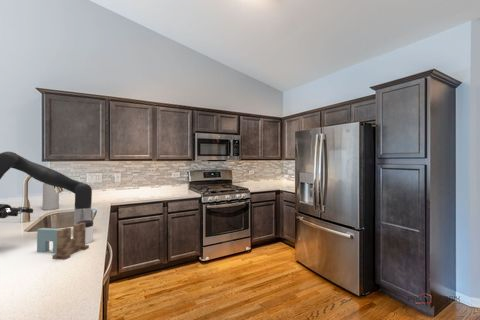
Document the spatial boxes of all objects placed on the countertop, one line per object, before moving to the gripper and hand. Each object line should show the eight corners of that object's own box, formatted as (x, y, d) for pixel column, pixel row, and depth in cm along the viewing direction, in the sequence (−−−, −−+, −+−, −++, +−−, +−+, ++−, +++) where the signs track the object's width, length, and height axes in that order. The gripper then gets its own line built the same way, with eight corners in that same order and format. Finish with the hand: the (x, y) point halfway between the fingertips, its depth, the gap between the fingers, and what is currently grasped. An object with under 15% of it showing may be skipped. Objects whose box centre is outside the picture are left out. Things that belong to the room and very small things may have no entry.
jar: (96, 239, 149) (96, 220, 149) (88, 244, 141) (88, 223, 141) (82, 239, 149) (82, 219, 149) (72, 243, 141) (73, 223, 141)
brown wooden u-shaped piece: (77, 247, 136) (77, 222, 136) (88, 247, 135) (89, 222, 135) (52, 258, 120) (52, 230, 120) (65, 259, 119) (65, 231, 119)
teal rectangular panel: (36, 251, 128) (37, 229, 128) (41, 250, 131) (41, 227, 131) (61, 253, 127) (61, 230, 127) (64, 251, 129) (65, 229, 129)
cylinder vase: (54, 210, 230) (55, 184, 230) (39, 210, 227) (40, 184, 227) (61, 207, 242) (61, 182, 242) (46, 207, 239) (47, 182, 239)
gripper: (-17, 206, 124) (12, 207, 123) (11, 201, 138) (37, 203, 137) (-18, 220, 124) (11, 222, 123) (10, 214, 138) (36, 216, 137)
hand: (25, 212), depth 130 cm, fingers open, 8 cm apart
